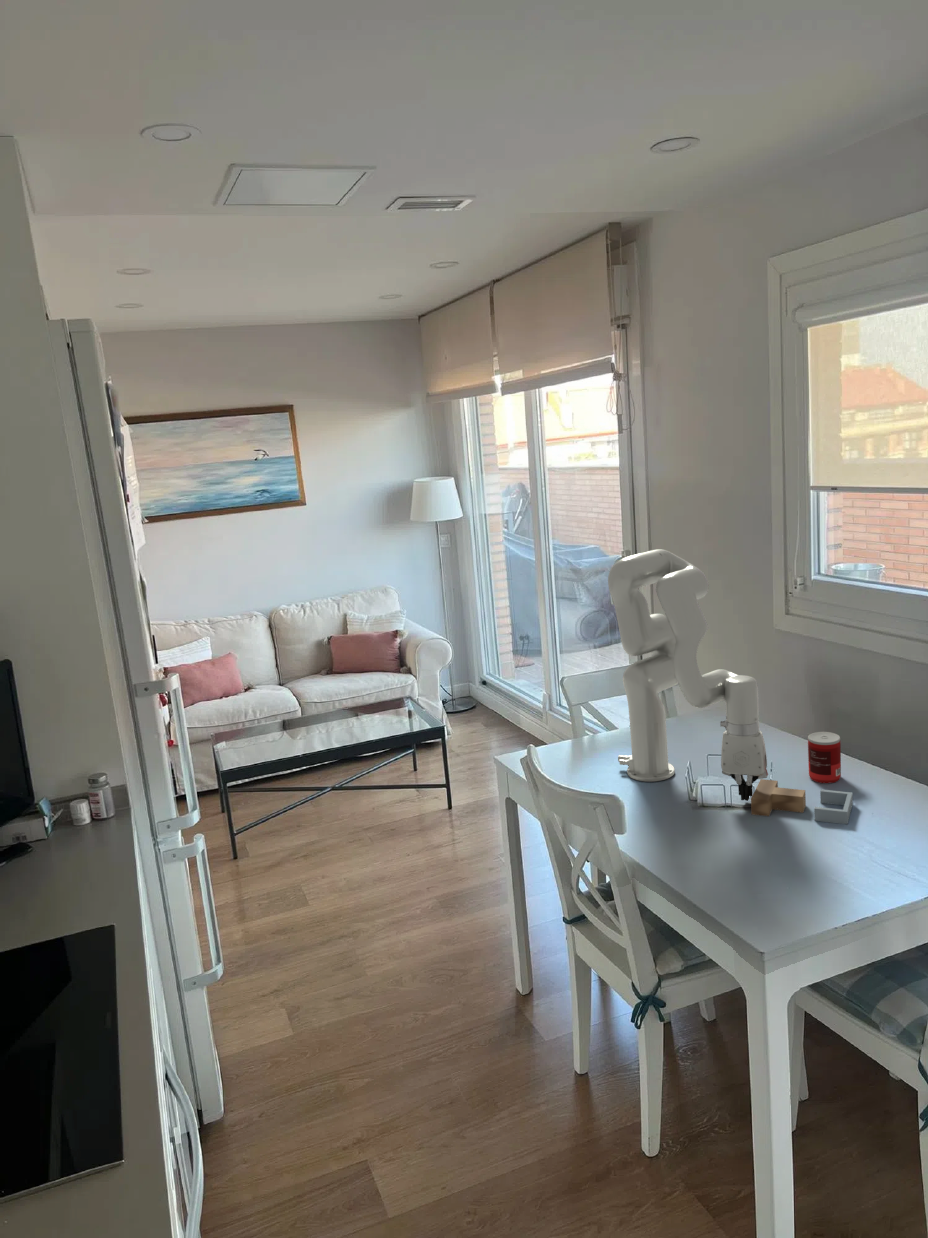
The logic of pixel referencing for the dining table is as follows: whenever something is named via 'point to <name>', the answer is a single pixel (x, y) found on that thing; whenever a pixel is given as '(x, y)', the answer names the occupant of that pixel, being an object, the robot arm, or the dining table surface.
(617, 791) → the dining table surface
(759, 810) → the t block
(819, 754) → the canned food
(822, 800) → the bracket
